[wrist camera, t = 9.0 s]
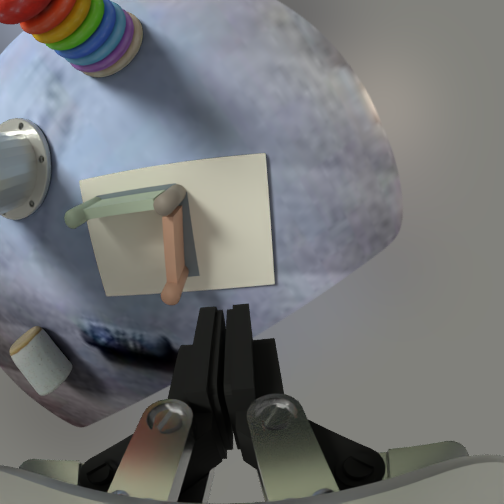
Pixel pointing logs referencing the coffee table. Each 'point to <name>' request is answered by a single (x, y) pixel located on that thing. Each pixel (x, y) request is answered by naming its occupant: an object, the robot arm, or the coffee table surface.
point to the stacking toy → (80, 31)
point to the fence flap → (172, 242)
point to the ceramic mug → (40, 360)
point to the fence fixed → (110, 207)
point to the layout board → (187, 226)
